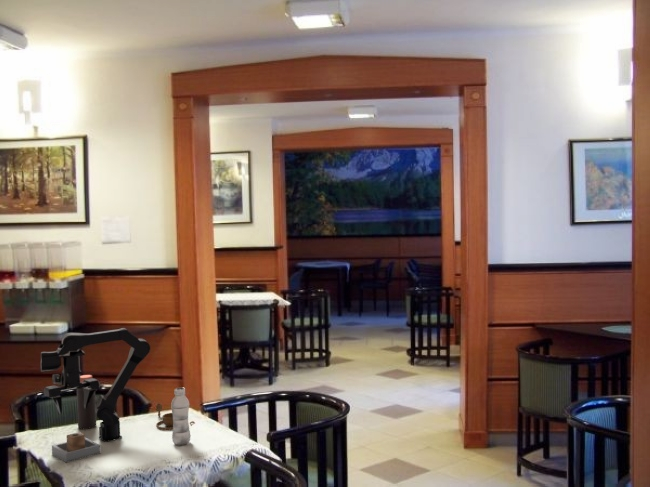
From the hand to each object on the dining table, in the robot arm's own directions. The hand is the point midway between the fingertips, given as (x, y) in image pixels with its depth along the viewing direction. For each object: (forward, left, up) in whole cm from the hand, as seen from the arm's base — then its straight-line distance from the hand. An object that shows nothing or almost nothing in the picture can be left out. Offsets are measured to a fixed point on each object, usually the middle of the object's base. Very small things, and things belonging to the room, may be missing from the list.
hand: (73, 411), depth 249 cm
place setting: (-38, +4, -13) cm, 41 cm away
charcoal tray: (+4, +11, -12) cm, 17 cm away
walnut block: (+4, +11, -11) cm, 16 cm away
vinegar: (-12, -16, -12) cm, 23 cm away
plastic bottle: (-27, +29, -12) cm, 41 cm away
